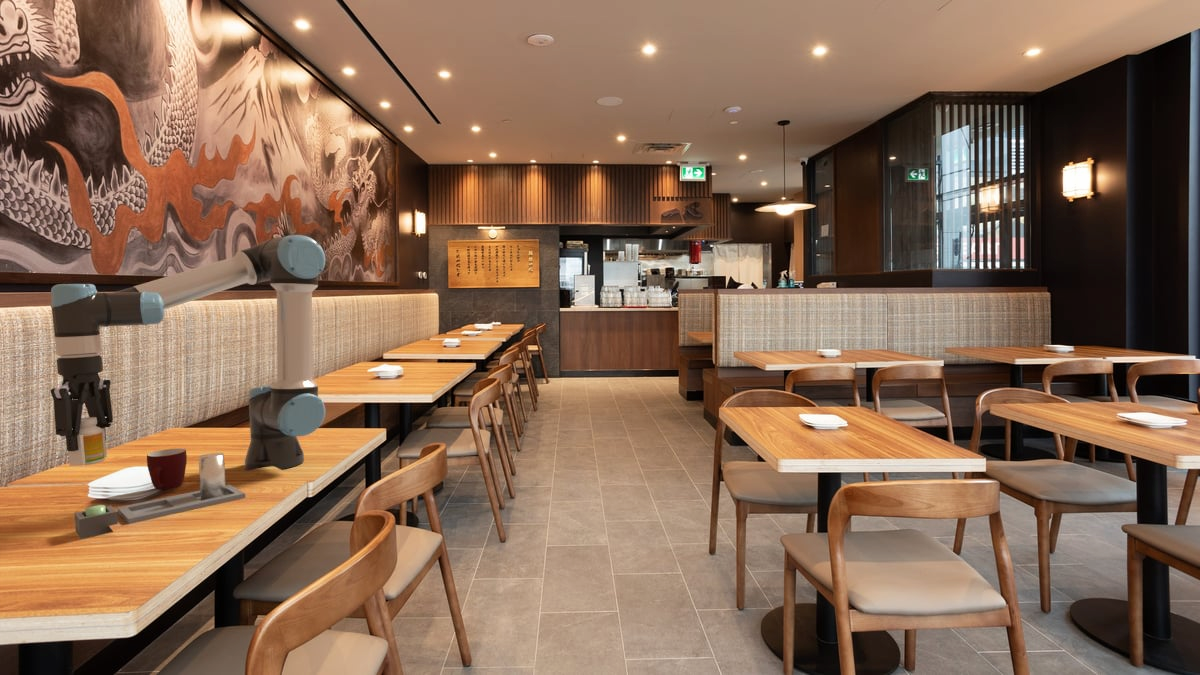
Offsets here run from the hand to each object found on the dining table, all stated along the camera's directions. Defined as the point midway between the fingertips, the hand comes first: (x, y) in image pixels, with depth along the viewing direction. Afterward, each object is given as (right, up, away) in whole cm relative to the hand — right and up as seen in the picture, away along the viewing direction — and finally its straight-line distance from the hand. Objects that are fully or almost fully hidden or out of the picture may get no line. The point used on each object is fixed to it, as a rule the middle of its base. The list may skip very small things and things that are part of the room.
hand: (88, 461), depth 136 cm
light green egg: (+8, -12, -7) cm, 16 cm away
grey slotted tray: (+18, -12, +4) cm, 22 cm away
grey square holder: (+8, -13, -7) cm, 17 cm away
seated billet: (+22, -10, +9) cm, 26 cm away
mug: (+5, -12, +18) cm, 22 cm away
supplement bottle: (0, -1, 0) cm, 1 cm away
